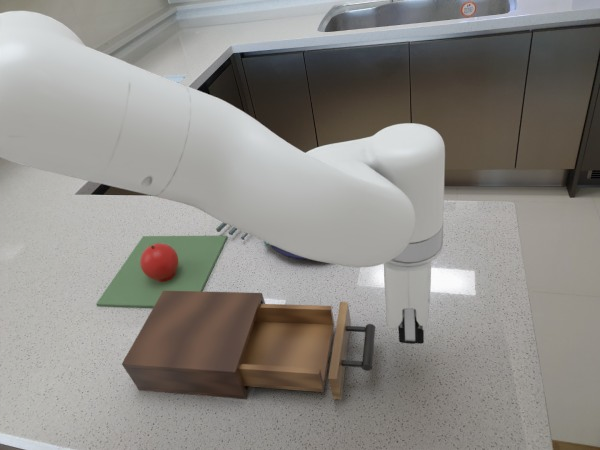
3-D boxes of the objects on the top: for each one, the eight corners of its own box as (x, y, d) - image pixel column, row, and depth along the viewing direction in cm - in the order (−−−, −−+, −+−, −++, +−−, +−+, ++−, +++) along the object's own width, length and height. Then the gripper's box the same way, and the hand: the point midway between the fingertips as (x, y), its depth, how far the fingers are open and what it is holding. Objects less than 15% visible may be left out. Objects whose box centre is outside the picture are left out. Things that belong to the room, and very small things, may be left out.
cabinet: (270, 320, 77) (262, 292, 73) (246, 399, 66) (235, 372, 62) (175, 316, 81) (163, 290, 77) (138, 390, 70) (121, 364, 66)
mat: (193, 309, 82) (192, 307, 82) (97, 306, 87) (95, 303, 87) (227, 237, 97) (227, 235, 97) (144, 238, 102) (143, 236, 102)
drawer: (377, 323, 72) (375, 302, 69) (372, 402, 61) (369, 381, 59) (252, 318, 77) (245, 298, 74) (228, 390, 67) (219, 370, 64)
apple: (174, 288, 86) (161, 258, 82) (141, 287, 88) (126, 258, 84) (188, 262, 92) (176, 233, 87) (157, 262, 94) (143, 233, 89)
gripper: (377, 196, 58) (385, 296, 69) (369, 282, 46) (380, 385, 58) (439, 194, 56) (437, 298, 67) (446, 283, 45) (443, 390, 56)
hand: (411, 338), depth 62 cm, fingers closed
